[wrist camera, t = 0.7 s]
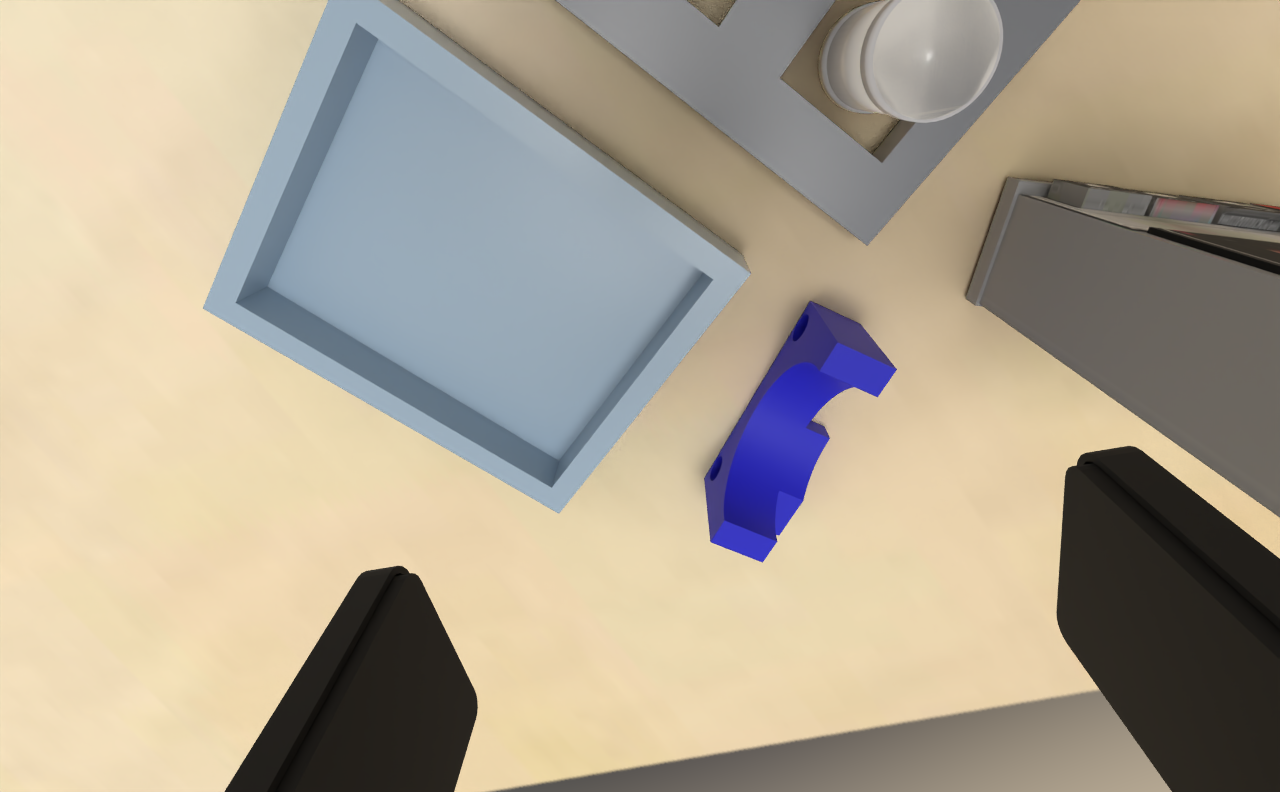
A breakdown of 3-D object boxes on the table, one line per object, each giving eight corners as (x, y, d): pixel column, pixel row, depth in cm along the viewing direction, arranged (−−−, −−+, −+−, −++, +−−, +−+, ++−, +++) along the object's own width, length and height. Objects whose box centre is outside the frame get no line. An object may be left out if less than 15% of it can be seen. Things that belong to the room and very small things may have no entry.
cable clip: (770, 504, 39) (788, 572, 33) (704, 476, 38) (710, 542, 33) (884, 334, 34) (925, 382, 28) (809, 299, 33) (837, 342, 28)
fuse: (865, -19, 27) (937, -56, 20) (937, 46, 28) (1031, 34, 21) (798, 73, 28) (842, 70, 21) (868, 132, 29) (933, 148, 22)
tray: (377, -16, 28) (339, -28, 24) (742, 254, 32) (751, 273, 29) (245, 287, 34) (202, 308, 31) (567, 478, 38) (558, 513, 35)
